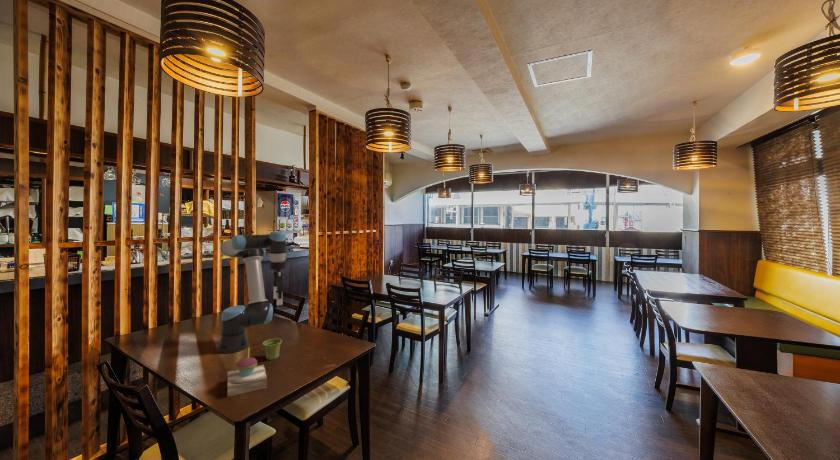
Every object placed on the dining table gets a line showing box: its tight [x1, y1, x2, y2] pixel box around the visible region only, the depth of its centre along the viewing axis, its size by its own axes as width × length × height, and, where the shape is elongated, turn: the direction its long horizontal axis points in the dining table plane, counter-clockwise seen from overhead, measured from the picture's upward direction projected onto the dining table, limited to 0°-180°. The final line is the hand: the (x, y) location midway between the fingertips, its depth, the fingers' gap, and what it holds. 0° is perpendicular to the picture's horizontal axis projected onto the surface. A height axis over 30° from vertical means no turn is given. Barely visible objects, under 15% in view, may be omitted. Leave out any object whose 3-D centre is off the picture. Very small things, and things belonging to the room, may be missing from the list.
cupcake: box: [235, 347, 258, 376], centre depth 143 cm, size 9×8×12 cm
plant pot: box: [262, 338, 283, 361], centre depth 171 cm, size 9×9×9 cm
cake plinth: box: [227, 364, 268, 398], centre depth 144 cm, size 15×15×5 cm
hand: (277, 301), depth 166 cm, fingers open, 13 cm apart
